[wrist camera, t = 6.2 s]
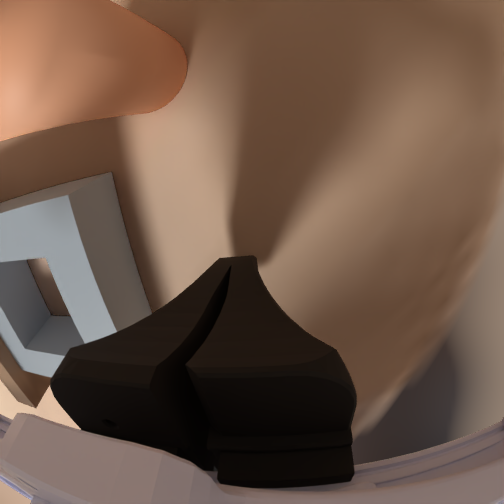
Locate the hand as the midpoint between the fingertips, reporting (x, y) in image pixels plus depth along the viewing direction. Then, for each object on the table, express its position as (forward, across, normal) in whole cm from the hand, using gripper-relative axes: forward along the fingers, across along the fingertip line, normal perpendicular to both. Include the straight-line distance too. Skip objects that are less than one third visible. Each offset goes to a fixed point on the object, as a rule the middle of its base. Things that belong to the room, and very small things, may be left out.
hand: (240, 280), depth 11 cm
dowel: (+1, +2, -8) cm, 8 cm away
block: (+1, +9, 0) cm, 9 cm away
